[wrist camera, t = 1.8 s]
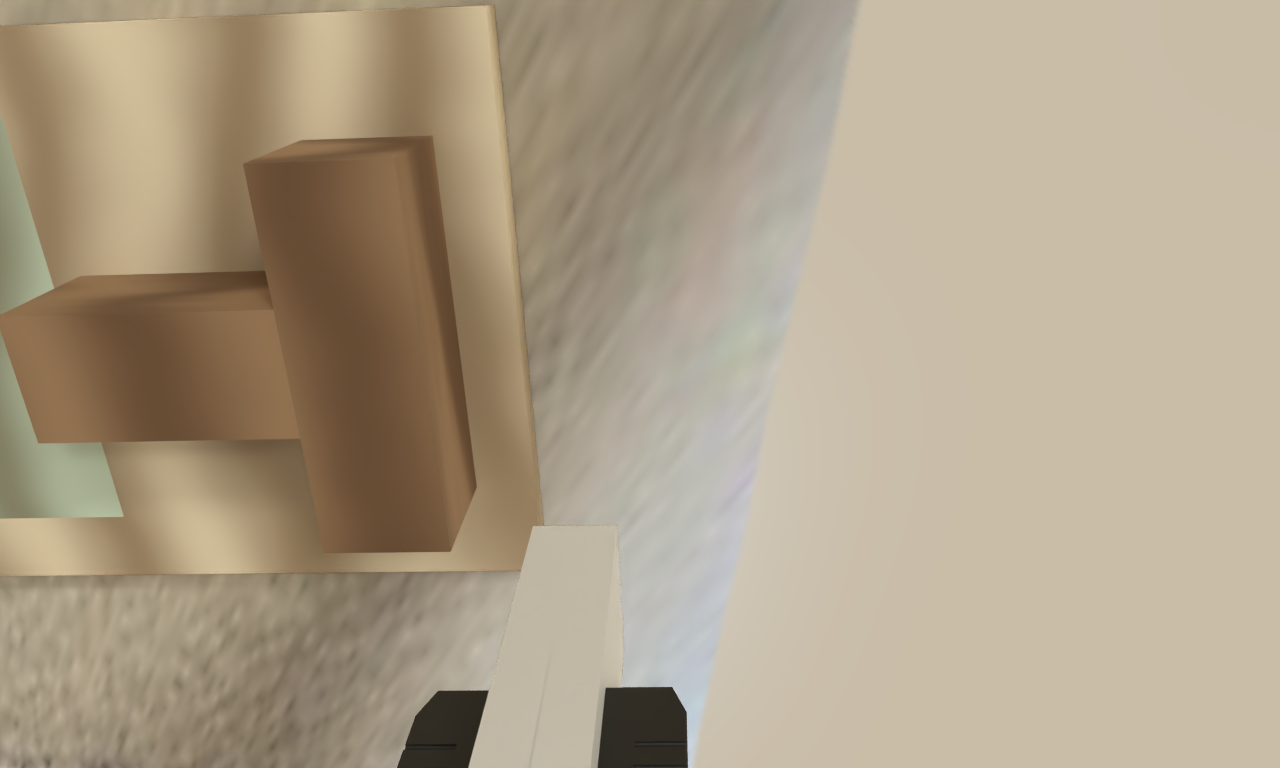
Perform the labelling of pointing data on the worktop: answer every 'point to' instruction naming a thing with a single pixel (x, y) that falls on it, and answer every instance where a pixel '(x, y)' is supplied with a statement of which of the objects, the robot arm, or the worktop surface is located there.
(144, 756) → the worktop surface
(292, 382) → the t block
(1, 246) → the board
